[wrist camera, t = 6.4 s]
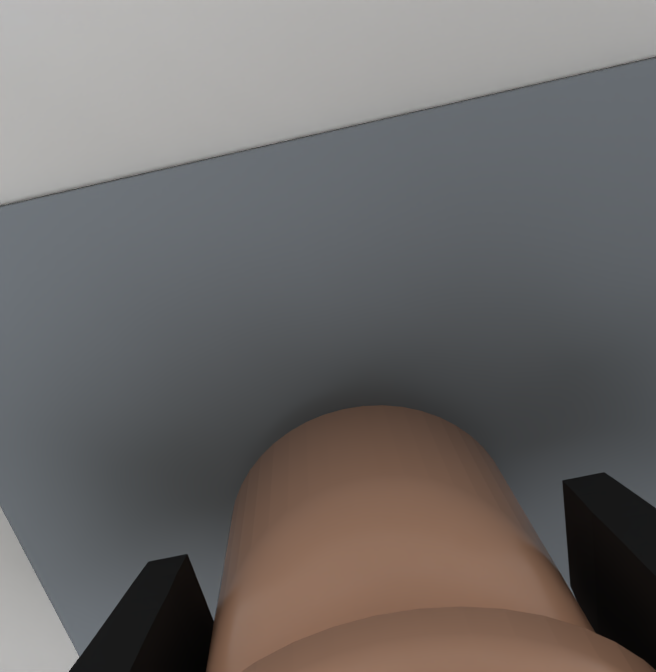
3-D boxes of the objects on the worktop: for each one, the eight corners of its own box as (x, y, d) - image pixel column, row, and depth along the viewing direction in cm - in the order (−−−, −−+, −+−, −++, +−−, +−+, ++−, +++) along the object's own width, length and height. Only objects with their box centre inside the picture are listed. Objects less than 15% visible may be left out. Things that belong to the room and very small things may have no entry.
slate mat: (753, 34, 9) (762, 33, 9) (722, 615, 14) (728, 622, 14) (-131, 236, 10) (-140, 239, 10) (122, 725, 15) (119, 733, 15)
